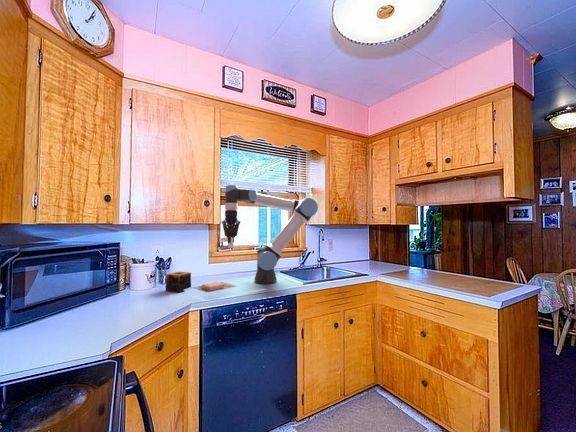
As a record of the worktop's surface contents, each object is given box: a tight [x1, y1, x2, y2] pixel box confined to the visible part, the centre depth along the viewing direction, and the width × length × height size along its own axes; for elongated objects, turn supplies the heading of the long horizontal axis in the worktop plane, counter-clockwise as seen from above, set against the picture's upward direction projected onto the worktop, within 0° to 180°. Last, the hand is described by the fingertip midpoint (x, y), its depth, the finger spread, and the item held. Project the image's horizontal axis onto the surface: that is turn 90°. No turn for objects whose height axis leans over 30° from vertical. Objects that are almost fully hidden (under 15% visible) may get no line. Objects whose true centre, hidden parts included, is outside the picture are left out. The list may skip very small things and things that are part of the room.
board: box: [191, 281, 237, 294], centre depth 158 cm, size 21×16×1 cm
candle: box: [165, 271, 192, 294], centre depth 154 cm, size 10×10×10 cm
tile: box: [201, 281, 224, 292], centre depth 155 cm, size 2×9×9 cm
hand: (230, 247), depth 164 cm, fingers closed
